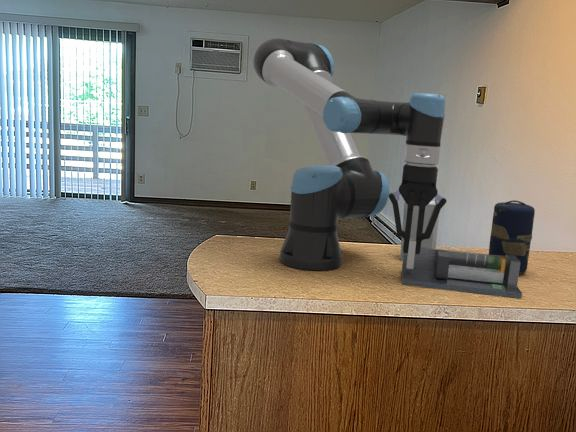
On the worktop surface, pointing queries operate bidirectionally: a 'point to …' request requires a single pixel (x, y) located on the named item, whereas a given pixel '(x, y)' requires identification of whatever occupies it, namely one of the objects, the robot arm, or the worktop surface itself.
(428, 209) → the skincare box
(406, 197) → the robot arm
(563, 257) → the worktop surface
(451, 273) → the capped sliding bar
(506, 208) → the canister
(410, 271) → the rail
